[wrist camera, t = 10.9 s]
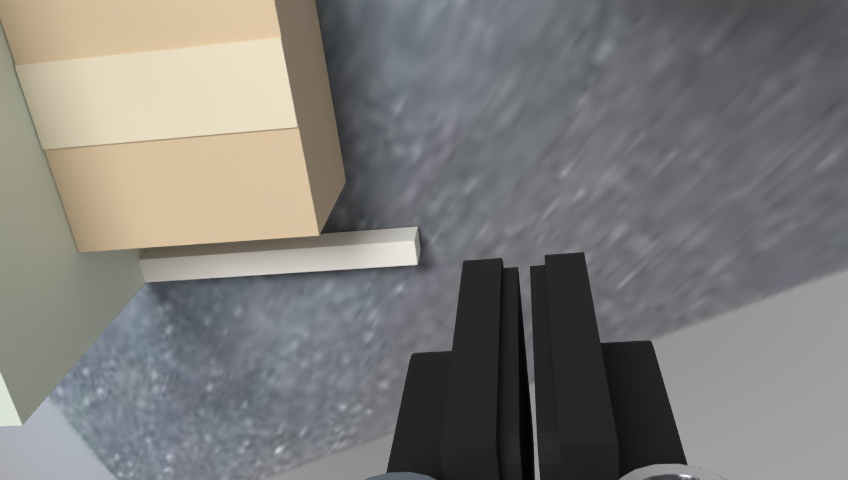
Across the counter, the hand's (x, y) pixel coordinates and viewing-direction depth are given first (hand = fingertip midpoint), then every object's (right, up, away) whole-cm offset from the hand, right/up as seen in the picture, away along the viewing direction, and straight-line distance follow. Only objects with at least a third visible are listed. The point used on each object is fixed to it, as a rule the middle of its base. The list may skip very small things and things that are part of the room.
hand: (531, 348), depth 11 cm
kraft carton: (-11, +9, +23) cm, 27 cm away
